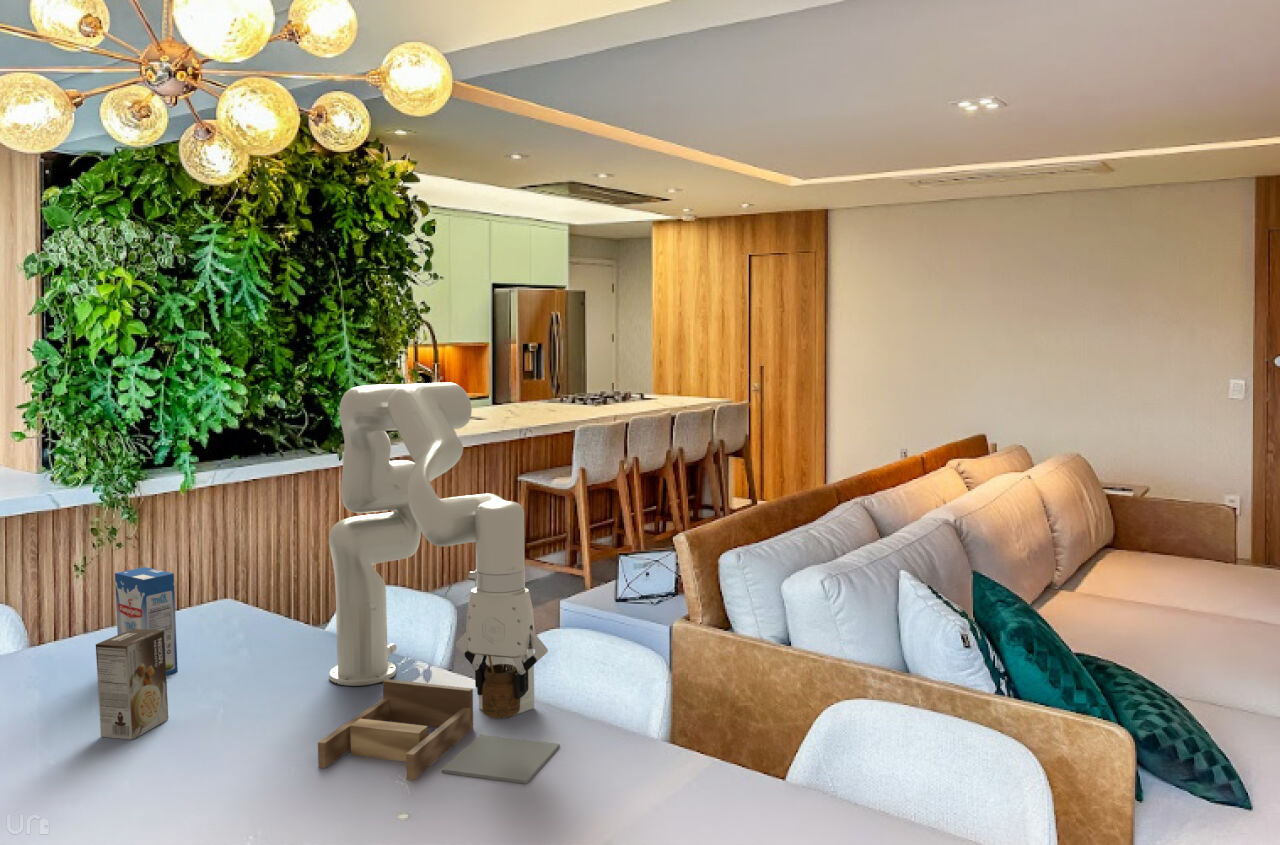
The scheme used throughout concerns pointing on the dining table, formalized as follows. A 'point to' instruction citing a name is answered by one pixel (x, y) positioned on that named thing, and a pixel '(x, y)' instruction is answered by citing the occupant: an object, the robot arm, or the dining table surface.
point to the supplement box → (528, 698)
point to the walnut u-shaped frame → (412, 721)
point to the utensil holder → (499, 691)
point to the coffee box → (132, 683)
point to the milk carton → (148, 606)
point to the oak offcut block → (385, 738)
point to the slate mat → (501, 758)
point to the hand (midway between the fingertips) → (501, 693)
